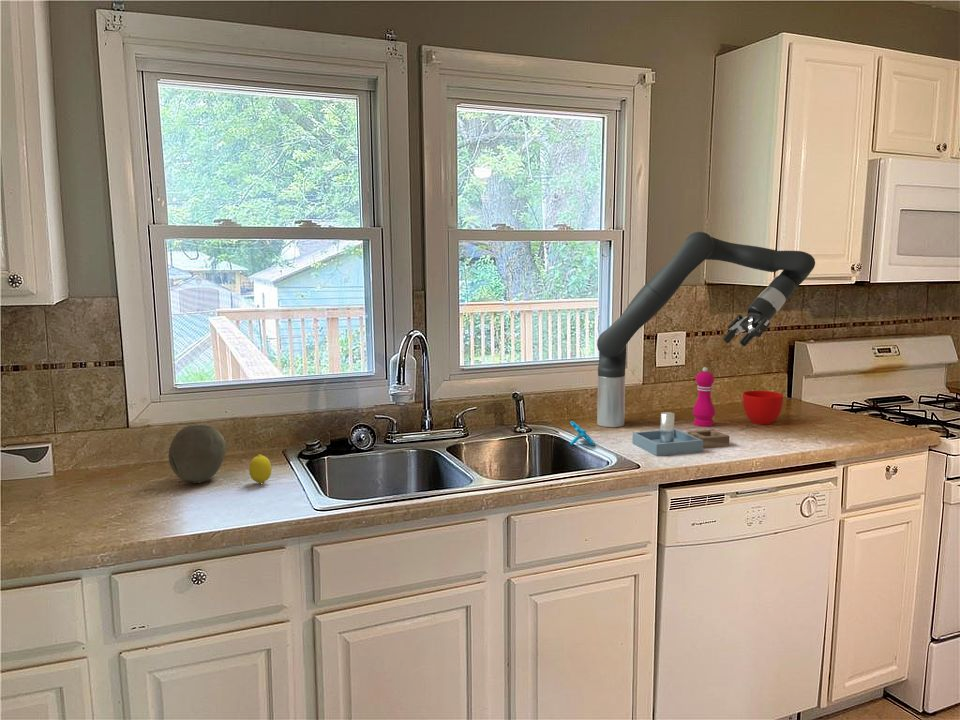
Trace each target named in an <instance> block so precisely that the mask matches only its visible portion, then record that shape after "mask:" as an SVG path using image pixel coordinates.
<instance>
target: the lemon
mask: <svg viewBox="0 0 960 720" xmlns="http://www.w3.org/2000/svg"><path fill="white" fill-rule="evenodd" d="M248 470H249V476H250V478H251V480H252V481H254V482H256V483H258V484H259V483H263V484H264V483H265V482H267V480H269V479H270V477H271V476H272V464H271V461H270V460H269V458H268V457H267V456H264V455H262V454H257V455H256V456H254V457H253V458H252V459H251V461H250V462H249V468H248Z"/></svg>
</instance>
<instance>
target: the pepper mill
mask: <svg viewBox="0 0 960 720" xmlns="http://www.w3.org/2000/svg"><path fill="white" fill-rule="evenodd" d="M695 382H696V384H697V385H696V390H697V392H698V396H697V400H696V402H695V404H694V406H693V409H692V415H693V416H694V417H695V418H694V419H693V424H694V425H695V426H696V427H703V428H704V427H705V428H706V427H713V425H714V420H713V419H712V418H713V417H714V416H715V414H716V410H715V406H714V404H713V402H712V398H711V397H712V396H711V394H712V391H713V386H712V385H713V384H714V382H715V377H714V375H713V374H712V372H710V371H709V369H708V367H707V366H703V368H702V371H701V372H699V373H697V374H696V377H695Z"/></svg>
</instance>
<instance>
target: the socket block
mask: <svg viewBox="0 0 960 720" xmlns="http://www.w3.org/2000/svg"><path fill="white" fill-rule="evenodd" d="M686 433H687V434H689V435H692V436H694V437H696V438H699V439H701V440H703V449H707V448H709V449H710V448H718V447H719V448H720V447H728V446H729V447H730V435H727V434H726V433H725V434H724V432H723V433H722V432H720V431H718V430H716V429H704V430H690V431H689V430H688V431H686Z"/></svg>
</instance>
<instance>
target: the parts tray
mask: <svg viewBox="0 0 960 720" xmlns="http://www.w3.org/2000/svg"><path fill="white" fill-rule="evenodd" d="M631 436H632V438H631V440H632V441H631V443H632V444H633V445H634V446H636V447H638V448H640V449H642V450H644V451H645V452H647V453H650V454H652V455H653V456H655V457H660V456H661V457H663V456H671V455H673V456H674V455H684V454H694V453H703V450H704V448H703V440H701V439H699V438H696V437H694V436H692V435H689V434H687V432H685V431H683V430H679V429H677V428H674V442H670V443H660V429H657V430H649V431H648V430H645V431H634V432H632V435H631Z"/></svg>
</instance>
